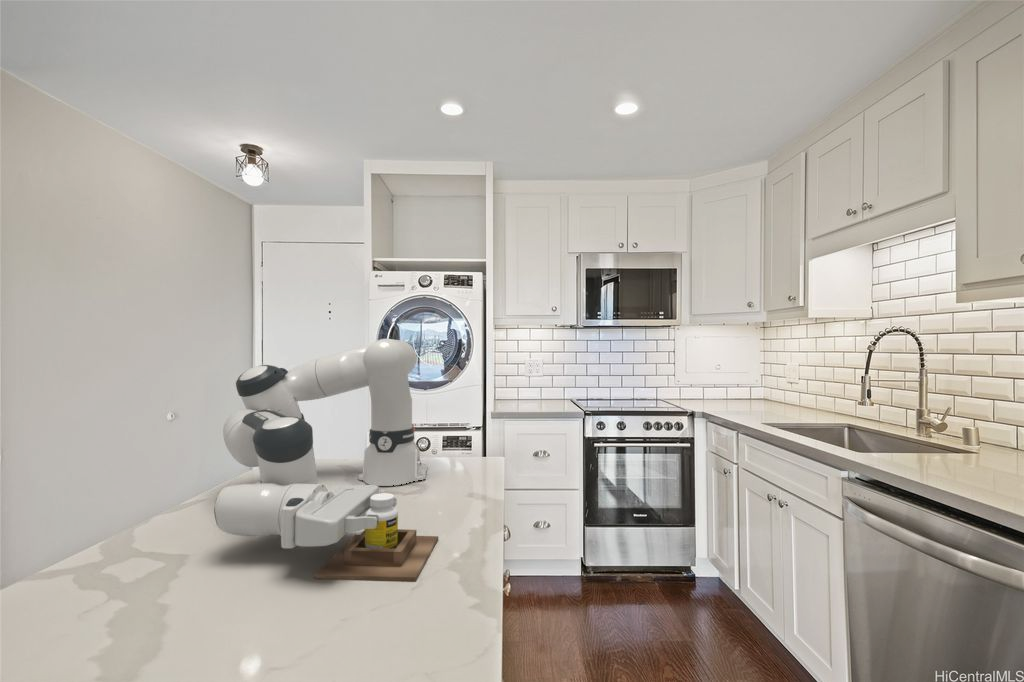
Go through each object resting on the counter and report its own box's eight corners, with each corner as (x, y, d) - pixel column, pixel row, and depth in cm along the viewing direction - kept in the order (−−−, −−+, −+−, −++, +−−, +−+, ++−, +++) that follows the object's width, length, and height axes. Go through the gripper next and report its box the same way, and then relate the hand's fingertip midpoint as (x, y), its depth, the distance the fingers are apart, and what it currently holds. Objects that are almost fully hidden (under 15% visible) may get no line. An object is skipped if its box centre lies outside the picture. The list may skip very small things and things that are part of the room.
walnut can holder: (355, 537, 88) (355, 521, 88) (438, 539, 87) (438, 523, 87) (314, 578, 72) (314, 559, 72) (415, 581, 71) (415, 561, 71)
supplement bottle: (388, 562, 76) (389, 502, 77) (358, 559, 77) (359, 500, 78) (403, 548, 82) (403, 492, 82) (374, 546, 83) (375, 490, 83)
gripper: (335, 508, 91) (404, 509, 90) (276, 553, 70) (364, 555, 70) (335, 476, 91) (404, 477, 90) (276, 511, 71) (365, 513, 70)
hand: (387, 511), depth 80 cm, fingers open, 8 cm apart
